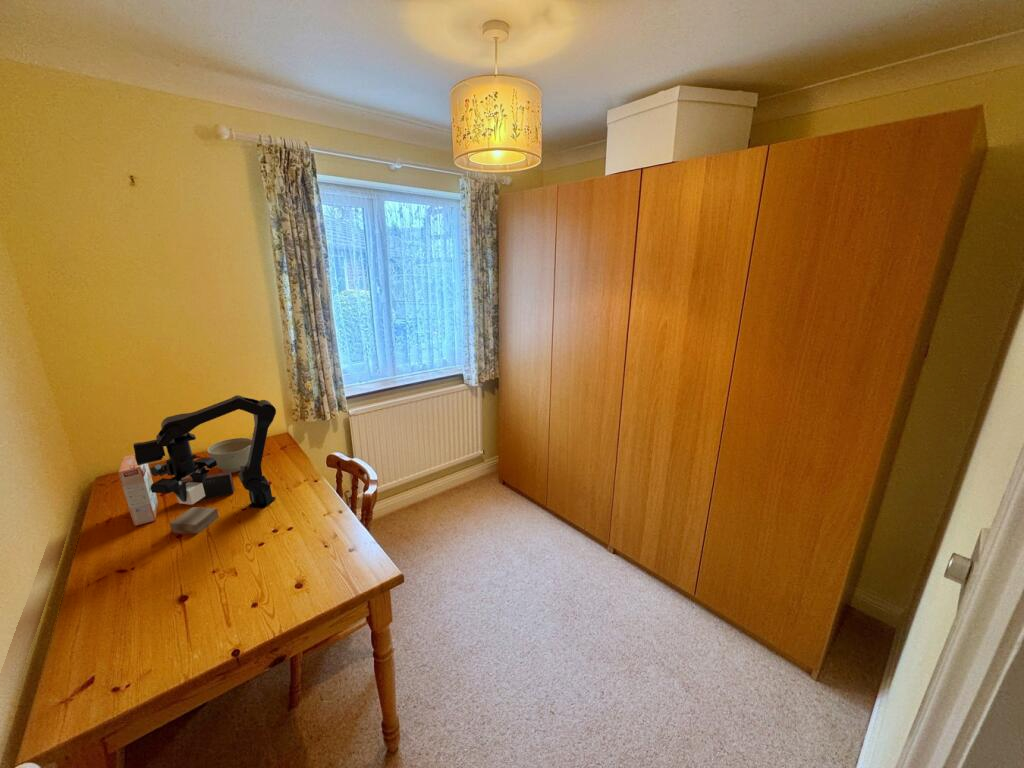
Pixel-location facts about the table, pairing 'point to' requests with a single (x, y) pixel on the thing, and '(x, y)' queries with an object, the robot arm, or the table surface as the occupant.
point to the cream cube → (193, 493)
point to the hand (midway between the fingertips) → (191, 496)
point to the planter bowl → (231, 453)
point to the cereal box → (138, 490)
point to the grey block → (194, 520)
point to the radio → (216, 484)
